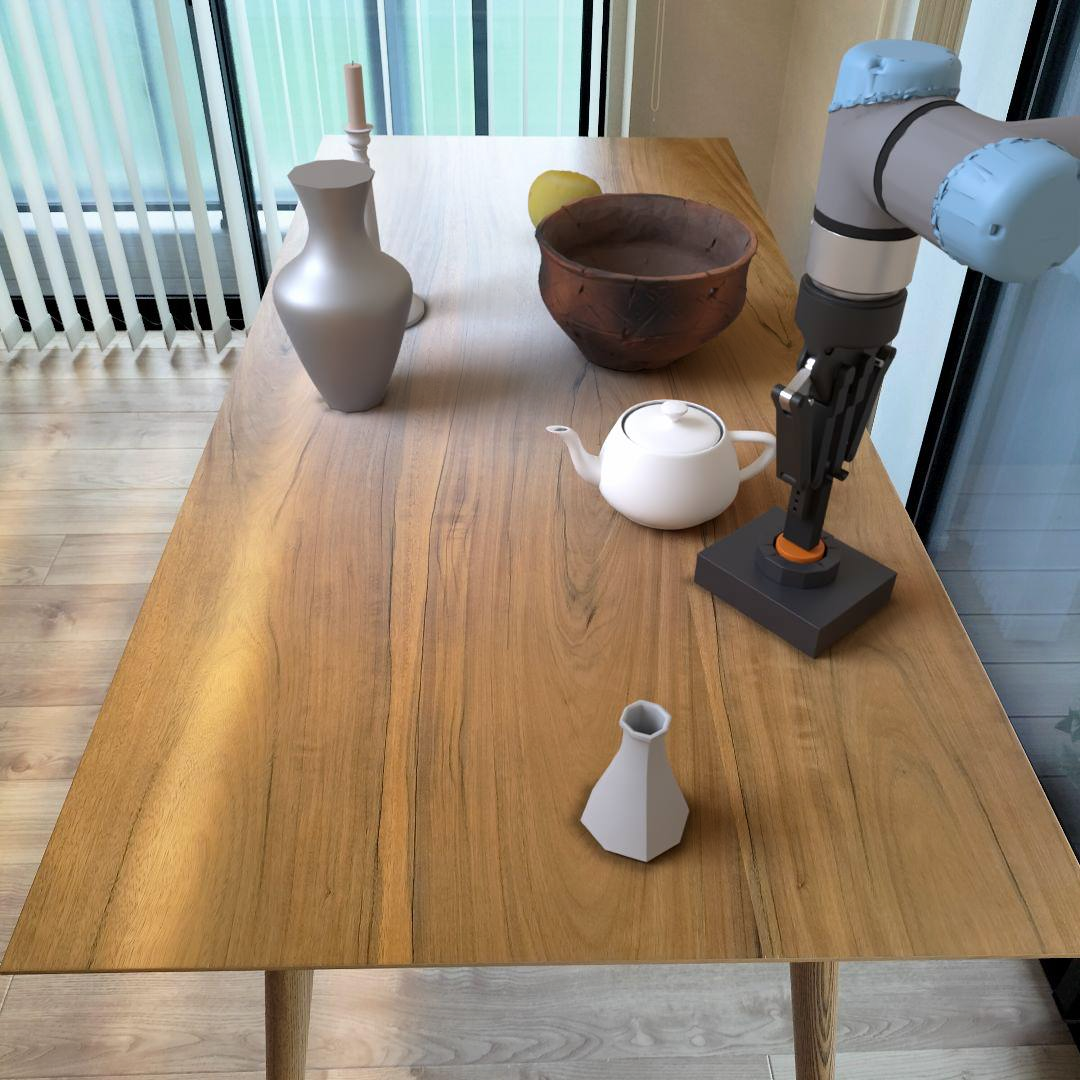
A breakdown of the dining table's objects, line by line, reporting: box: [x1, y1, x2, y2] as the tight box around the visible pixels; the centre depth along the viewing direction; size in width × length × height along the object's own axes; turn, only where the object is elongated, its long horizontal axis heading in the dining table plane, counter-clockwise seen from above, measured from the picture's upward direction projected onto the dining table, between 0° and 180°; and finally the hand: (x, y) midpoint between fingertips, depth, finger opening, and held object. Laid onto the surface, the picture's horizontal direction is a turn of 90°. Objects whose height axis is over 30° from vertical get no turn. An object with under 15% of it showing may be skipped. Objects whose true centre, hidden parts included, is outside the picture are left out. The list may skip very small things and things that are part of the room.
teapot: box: [545, 399, 776, 531], centre depth 102 cm, size 22×14×11 cm, turn 93°
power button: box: [775, 533, 825, 564], centre depth 92 cm, size 4×4×2 cm
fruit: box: [527, 169, 603, 229], centre depth 154 cm, size 10×11×10 cm
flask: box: [580, 699, 690, 863], centre depth 72 cm, size 7×7×10 cm
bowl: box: [534, 192, 759, 372], centre depth 125 cm, size 25×25×15 cm
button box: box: [693, 505, 899, 659], centre depth 93 cm, size 13×11×5 cm
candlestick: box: [341, 60, 425, 329], centre depth 128 cm, size 13×13×30 cm
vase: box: [271, 158, 414, 413], centre depth 112 cm, size 14×14×25 cm
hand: (800, 540), depth 91 cm, fingers closed
